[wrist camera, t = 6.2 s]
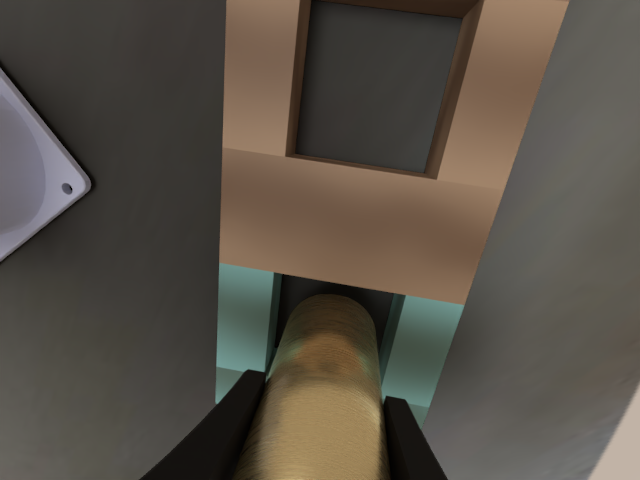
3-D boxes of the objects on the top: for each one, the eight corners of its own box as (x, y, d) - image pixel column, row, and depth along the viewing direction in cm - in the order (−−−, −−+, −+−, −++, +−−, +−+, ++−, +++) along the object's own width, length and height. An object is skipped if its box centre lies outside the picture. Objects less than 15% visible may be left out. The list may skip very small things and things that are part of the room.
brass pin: (317, 379, 14) (283, 604, 7) (270, 317, 13) (182, 507, 6) (391, 348, 13) (430, 576, 6) (345, 278, 12) (335, 457, 5)
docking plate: (409, 407, 16) (416, 443, 14) (230, 373, 17) (215, 403, 15) (556, -58, 10) (605, -105, 8) (253, -90, 10) (230, -142, 8)
